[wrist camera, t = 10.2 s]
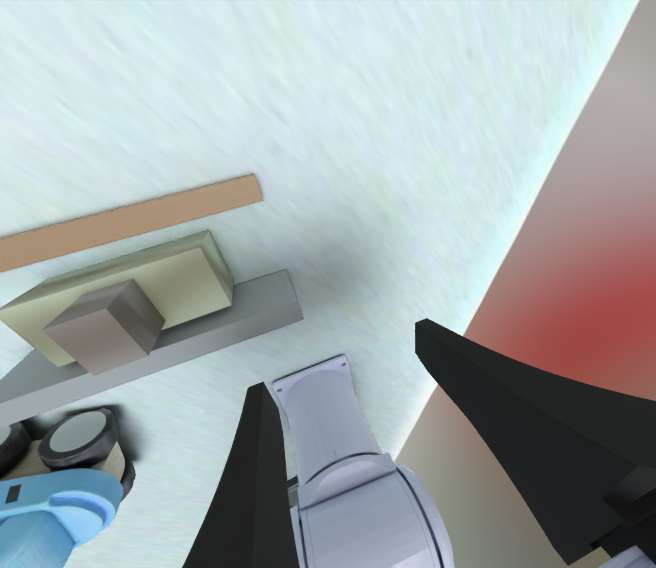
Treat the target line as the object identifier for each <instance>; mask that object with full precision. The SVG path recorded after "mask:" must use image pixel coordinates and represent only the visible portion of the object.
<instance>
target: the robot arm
mask: <svg viewBox="0 0 656 568" xmlns="http://www.w3.org/2000/svg"><path fill="white" fill-rule="evenodd" d="M415 353H416V354H417V356H418V358H419V359H420V361H421V362H422V364H423V365H424V367H425V368H426V369H427V371H428V372H429V373H430V375H431V376H432V377H433V378H434V379H435V381H436V382H437V383H438V384H439V385H440V387H441V388H442V389H443V390H444V391H445V392H446V394H447V395H448V396H449V397H450V398H451V399H452V400H453V402H454V403H455V404H456V405H457V406H458V407H459V409H460V410H461V411H462V412H463V413H464V415H465V416H466V417H467V418H468V420H469V421H470V422H471V423H472V425H473V426H474V427H475V428H476V430H477V431H478V433H479V434H480V436H481V437H482V438H483V440H484V441H485V443H486V444H487V445H488V447H489V448H490V450H491V451H492V453H493V454H494V455H495V457H496V458H497V460H498V461H499V463H500V464H501V466H502V467H503V468H504V470H505V471H506V473H507V474H508V476H509V477H510V479H511V481H512V482H513V484H514V485H515V486H516V488H517V490H518V491H519V493H520V494H521V496H522V497H523V499H524V500H525V502H526V504H527V505H528V507H529V508H530V510H531V512H532V513H533V515H534V516H535V518H536V520H537V521H538V523H539V524H540V526H541V528H542V529H543V531H544V532H545V534H546V536H547V537H548V539H549V541H550V542H551V544H552V546H553V547H554V549H555V550H556V551H557V552H558V554H559V555H560V556H561V558H562V559H563V560H564V562H565V563H566V564H567V565H570V564H572V563H573V562H575V561H577V560H579V559H580V558H582V557H584V556H585V555H587V554H589V553H590V552H592V551H594V550H595V549H597V548H598V547H600V546H601V547H602V548H603V549H604V550H605V551H606V552H607V554H608V555H609V556H610V557H611V558H612V559H610V560H609V561H607V562H605V563H604V564H602V565H601V566H599V567H598V568H656V401H653V400H648V399H644V398H639V397H635V396H631V395H626V394H622V393H618V392H614V391H611V390H607V389H603V388H599V387H596V386H592V385H589V384H585V383H582V382H578V381H575V380H572V379H568V378H565V377H562V376H559V375H555V374H553V373H550V372H547V371H544V370H541V369H538V368H535V367H533V366H530V365H527V364H525V363H522V362H519V361H517V360H514V359H512V358H509V357H507V356H504V355H502V354H499V353H497V352H495V351H493V350H490V349H488V348H486V347H483V346H481V345H479V344H477V343H475V342H473V341H471V340H469V339H467V338H465V337H463V336H461V335H459V334H457V333H455V332H453V331H451V330H449V329H447V328H445V327H443V326H441V325H439V324H437V323H435V322H433V321H431V320H429V319H427V318H426V319H424V320H421V321H418V322H416V323H415ZM342 363H343V364H342ZM272 386H273V390H274V392H275V394H276V396H277V397H278V399H279V401H280V403H281V405H282V407H283V409H284V411H285V413H286V415H287V417H288V420H289V426H290V433H291V439H292V445H293V451H294V457H295V463H296V469H297V476H298V482H299V488H298V489H297V491H298V498H299V504H300V509H299V506H298V505H297V506H294V507H292V508H291V509H290V505H289V496H288V485H287V473H286V461H285V449H284V438H283V430H282V425H281V420H280V415H279V410H278V407H277V405H276V404H275V402H274V400H273V398H272V396H271V395H270V393H269V391H268V389H267V387H266V386H265V384H264V382H261V383H258V384H256V385H253V386H251V387H249V388H248V390H247V394H246V398H245V402H244V406H243V410H242V414H241V418H240V421H239V425H238V428H237V431H236V435H235V438H234V441H233V444H232V448H231V451H230V454H229V457H228V459H227V462H226V465H225V468H224V471H223V474H222V476H221V479H220V482H219V484H218V487H217V490H216V492H215V495H214V497H213V500H212V502H211V505H210V507H209V509H208V512H207V514H206V517H205V519H204V521H203V524H202V526H201V528H200V530H199V532H198V535H197V537H196V539H195V541H194V544H193V546H192V548H191V550H190V552H189V554H188V557H187V559H186V561H185V563H184V565H183V567H182V568H455V566H454V561H453V552H452V547H451V543H450V540H449V537H448V534H447V531H446V529H445V526H444V523H443V521H442V518H441V516H440V514H439V512H438V510H437V507H436V506H435V503H434V501H433V499H432V498H431V496H430V494H429V493H428V491H427V489H426V487H425V486H424V484H423V483H422V481H421V480H420V479H419V478H418V476H417V475H416V474H415V473H414V472H412V471H411V470H409V469H408V468H407V467H406V466H404V465H403V464H397V465H394V462H393V460H392V458H391V456H390V454H389V453H385V454H382V452H381V450H380V448H379V446H378V443H377V441H376V439H375V437H374V435H373V433H372V430H371V428H370V426H369V424H368V422H367V420H366V417H365V415H364V413H363V411H362V409H361V407H360V404H359V402H358V400H357V398H356V394H355V390H354V385H353V381H352V377H351V373H350V369H349V365H348V360H347V358H346V356H344V355H342V356H339V357H336V358H334V359H331V360H329V361H326V362H324V363H321V364H319V365H316V366H314V367H311V368H308V369H306V370H303V371H301V372H298V373H296V374H293V375H291V376H288V377H286V378H283V379H280V380H278V381H276V382H274V383H273V385H272ZM279 388H280V389H279Z"/></svg>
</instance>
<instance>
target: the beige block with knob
mask: <svg viewBox="0 0 656 568" xmlns="http://www.w3.org/2000/svg"><path fill="white" fill-rule="evenodd" d="M233 285H234V278H233V276H232V274H231V272H230V270H229V268H228V266H227V264H226V262H225V260H224V258H223V256H222V254H221V252H220V250H219V248H218V246H217V244H216V242H215V240H214V238H213V236H212V235H211V233H210V231H209V230H206V231H203V232H200V233H196V234H193V235H190V236H186V237H183V238H180V239H177V240H173V241H170V242H167V243H164V244H160V245H157V246H154V247H151V248H147V249H144V250H141V251H137V252H134V253H131V254H128V255H124V256H121V257H118V258H115V259H111V260H108V261H105V262H102V263H98V264H95V265H92V266H88V267H85V268H82V269H79V270H75V271H72V272H69V273H66V274H62V275H59V276H56V277H53V278H49V279H47V280H45V281H43V282H42V283H40V284H39V285H37V286H35V287H34V288H32V289H30V290H29V291H27V292H25V293H24V294H22V295H21V296H19V297H17V298H16V299H14V300H12V301H11V302H9V303H8V304H6V305H4V306H3V307H1V308H0V320H1V321H2V322H3V323H5V324H6V325H7V326H8V327H10V328H11V329H12V330H13V331H14V332H16V333H17V334H18V335H19V336H21V337H22V338H23V339H24V340H26V341H27V342H28V343H29V344H30V345H32V346H33V347H34V348H35V349H37V350H38V351H39V352H40V353H42V354H43V355H44V356H45V357H46V358H48V359H49V360H50V361H51V362H53V363H54V364H55V365H56V366H57V367H60V366H62V365H65V364H68V363H71V362H74V361H77V362H78V363H79V364H81V365H82V366H83V367H84V368H85V369H86V370H87V371H89V372H90V373H91V374H92V375H93V376H96V375H99V374H101V373H104V372H107V371H110V370H112V369H115V368H118V367H120V366H123V365H126V364H129V363H131V362H134V361H137V360H139V359H142V358H145V357H148V356H149V354H150V352H151V350H152V348H153V346H154V344H155V342H156V340H157V338H158V336H159V334H160V332H161V330H164V329H166V328H169V327H172V326H175V325H178V324H180V323H183V322H186V321H189V320H192V319H194V318H197V317H200V316H203V315H206V314H209V313H211V312H214V311H217V310H220V309H223V308H225V307H228V306H231V305H232V296H233Z"/></svg>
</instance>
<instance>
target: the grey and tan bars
mask: <svg viewBox="0 0 656 568" xmlns="http://www.w3.org/2000/svg"><path fill="white" fill-rule="evenodd" d="M260 201H264V200H263V197H262V194H261V191H260V188H259V185H258V182H257V179H256V176H255V174H250V175H247V176H243V177H239V178H235V179H231V180H227V181H223V182H219V183H215V184H211V185H207V186H203V187H199V188H195V189H191V190H187V191H184V192H180V193H176V194H172V195H168V196H164V197H160V198H156V199H152V200H148V201H144V202H140V203H136V204H132V205H128V206H124V207H121V208H117V209H113V210H109V211H105V212H101V213H97V214H93V215H89V216H85V217H81V218H77V219H73V220H69V221H65V222H61V223H58V224H54V225H50V226H46V227H42V228H38V229H34V230H30V231H26V232H22V233H18V234H14V235H10V236H6V237H2V238H0V272H4V271H8V270H11V269H15V268H19V267H22V266H26V265H30V264H33V263H37V262H41V261H44V260H48V259H52V258H55V257H59V256H63V255H66V254H70V253H74V252H77V251H81V250H85V249H88V248H92V247H96V246H99V245H103V244H107V243H110V242H114V241H118V240H121V239H125V238H129V237H132V236H136V235H140V234H143V233H147V232H151V231H154V230H158V229H162V228H165V227H169V226H173V225H176V224H180V223H184V222H187V221H191V220H195V219H198V218H202V217H206V216H209V215H213V214H217V213H220V212H224V211H228V210H231V209H235V208H238V207H242V206H246V205H249V204H253V203H257V202H260ZM303 319H304V318H303V315H302V312H301V309H300V306H299V303H298V300H297V297H296V294H295V292H294V289H293V286H292V283H291V281H290V278H289V275H288V272H287V269H285V270H281V271H278V272H275V273H272V274H269V275H266V276H263V277H260V278H257V279H254V280H250V281H247V282H244V283H241V284H238V285H235V286H233V296H232V305H231V306H228V307H225V308H223V309H220V310H217V311H214V312H211V313H209V314H206V315H203V316H200V317H197V318H194V319H192V320H189V321H186V322H183V323H180V324H178V325H175V326H172V327H169V328H166V329H164V330H161V332H160V334H159V336H158V338H157V340H156V342H155V344H154V346H153V348H152V350H151V352H150V354H149V356H148V357H145V358H142V359H139V360H137V361H134V362H131V363H129V364H126V365H123V366H120V367H118V368H115V369H112V370H110V371H107V372H104V373H101V374H99V375H96V376H93V375H92V374H91V373H90V372H89V371H87V370H86V369H85V368H84V367H83V366H82V365H81V364H79V363H78V362H77V361H74V362H71V363H68V364H65V365H62V366H60V367H57V366H56V365H55V364H54V363H53V362H51V361H50V360H49V359H48V358H46V357H45V356H44V355H43V354H42V353H40V352H39V351H38V350H37V349H36V350H33V351H32V352H31V353H30V354H28V355H27V356H26V357H25V358H24V359H23V360H22V361H21V362H20V363H19V364H17V365H16V366H15V367H14V368H13V369H12V370H11V371H10V372H9V373H8V374H6V375H5V376H4V377H3V378H2V379H1V380H0V428H2V427H5V426H8V425H11V424H13V423H16V422H19V421H22V420H24V419H27V418H30V417H33V416H36V415H38V414H41V413H44V412H47V411H50V410H52V409H55V408H58V407H61V406H63V405H66V404H69V403H72V402H75V401H77V400H80V399H83V398H86V397H89V396H91V395H94V394H97V393H100V392H102V391H105V390H108V389H111V388H114V387H116V386H119V385H122V384H125V383H127V382H130V381H133V380H136V379H139V378H141V377H144V376H147V375H150V374H153V373H155V372H158V371H161V370H164V369H166V368H169V367H172V366H175V365H178V364H180V363H183V362H186V361H189V360H192V359H194V358H197V357H200V356H203V355H205V354H208V353H211V352H214V351H217V350H219V349H222V348H225V347H228V346H230V345H233V344H236V343H239V342H242V341H244V340H247V339H250V338H253V337H256V336H258V335H261V334H264V333H267V332H269V331H272V330H275V329H278V328H281V327H283V326H286V325H289V324H292V323H295V322H297V321H300V320H303Z"/></svg>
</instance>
